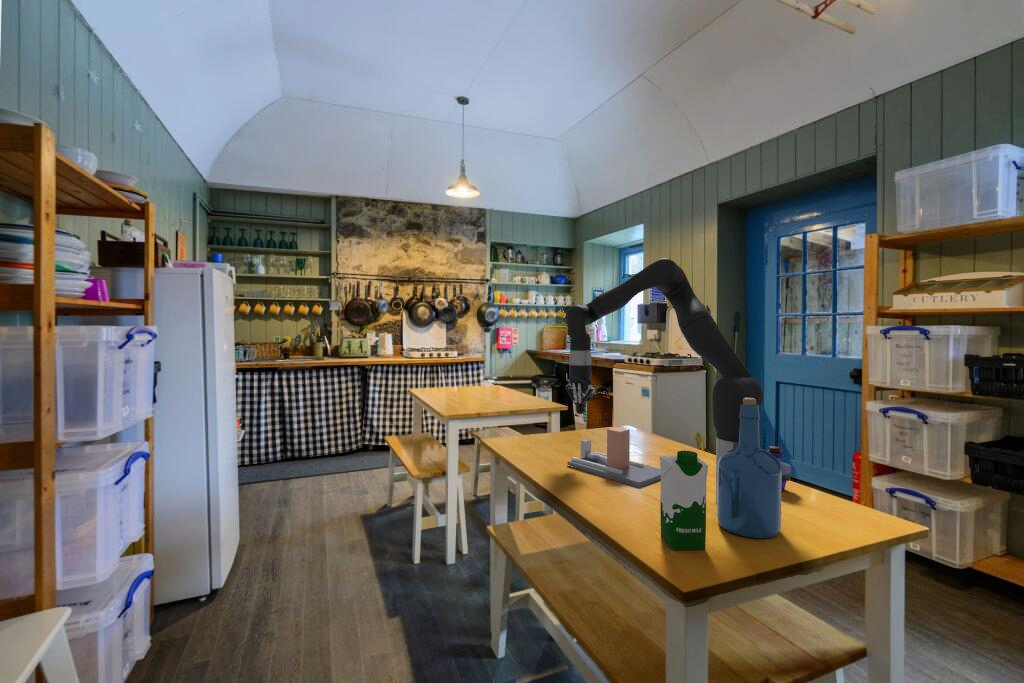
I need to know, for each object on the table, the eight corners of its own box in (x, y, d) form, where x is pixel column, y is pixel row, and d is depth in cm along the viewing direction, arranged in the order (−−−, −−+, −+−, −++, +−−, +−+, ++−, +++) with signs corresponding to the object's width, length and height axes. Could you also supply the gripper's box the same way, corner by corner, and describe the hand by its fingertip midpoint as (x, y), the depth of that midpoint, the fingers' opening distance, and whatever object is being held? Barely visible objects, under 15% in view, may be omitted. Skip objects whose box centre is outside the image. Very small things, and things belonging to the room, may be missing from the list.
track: (598, 457, 170) (598, 450, 170) (669, 476, 148) (669, 468, 148) (567, 466, 159) (567, 458, 159) (639, 487, 138) (639, 478, 138)
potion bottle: (798, 493, 133) (798, 450, 132) (766, 493, 133) (767, 450, 132) (781, 483, 141) (781, 443, 141) (751, 483, 141) (752, 443, 141)
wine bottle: (704, 523, 113) (705, 396, 112) (741, 512, 119) (743, 392, 118) (756, 546, 101) (758, 405, 100) (795, 534, 107) (797, 400, 106)
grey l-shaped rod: (587, 455, 166) (587, 439, 165) (614, 462, 157) (614, 445, 157) (579, 457, 163) (579, 440, 163) (606, 464, 154) (606, 447, 154)
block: (616, 463, 157) (616, 427, 156) (629, 466, 153) (629, 429, 153) (607, 466, 154) (607, 429, 153) (619, 469, 150) (619, 431, 149)
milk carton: (669, 552, 98) (670, 456, 98) (655, 533, 107) (655, 445, 107) (711, 551, 99) (712, 455, 98) (693, 532, 108) (694, 444, 107)
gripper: (602, 364, 162) (602, 415, 162) (573, 361, 172) (573, 409, 173) (588, 365, 157) (587, 417, 158) (558, 362, 167) (558, 412, 168)
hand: (580, 413), depth 165 cm, fingers closed
